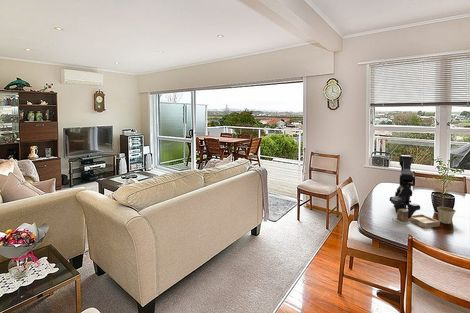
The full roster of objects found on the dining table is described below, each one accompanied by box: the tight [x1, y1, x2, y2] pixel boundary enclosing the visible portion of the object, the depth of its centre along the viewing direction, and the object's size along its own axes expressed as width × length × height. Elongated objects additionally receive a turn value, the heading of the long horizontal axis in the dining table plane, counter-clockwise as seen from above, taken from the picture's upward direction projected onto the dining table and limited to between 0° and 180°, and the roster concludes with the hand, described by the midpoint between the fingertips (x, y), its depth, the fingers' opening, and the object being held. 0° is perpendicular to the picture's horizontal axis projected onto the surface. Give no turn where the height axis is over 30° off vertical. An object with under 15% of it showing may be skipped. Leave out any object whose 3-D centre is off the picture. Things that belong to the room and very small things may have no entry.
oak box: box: [408, 213, 441, 229], centre depth 168 cm, size 12×11×3 cm
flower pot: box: [436, 206, 457, 225], centre depth 168 cm, size 9×9×9 cm
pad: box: [392, 217, 414, 225], centre depth 172 cm, size 8×8×1 cm
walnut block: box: [396, 209, 408, 222], centre depth 171 cm, size 4×4×7 cm
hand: (402, 215), depth 171 cm, fingers open, 9 cm apart
